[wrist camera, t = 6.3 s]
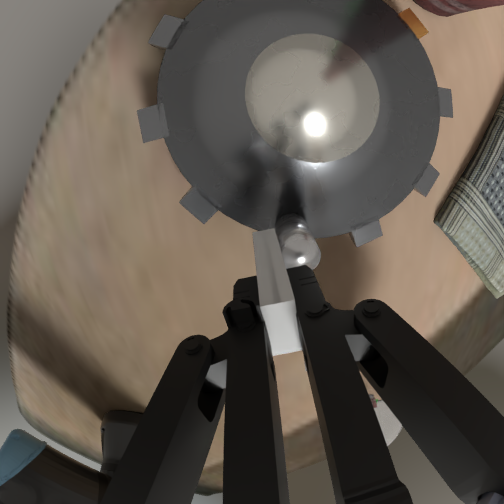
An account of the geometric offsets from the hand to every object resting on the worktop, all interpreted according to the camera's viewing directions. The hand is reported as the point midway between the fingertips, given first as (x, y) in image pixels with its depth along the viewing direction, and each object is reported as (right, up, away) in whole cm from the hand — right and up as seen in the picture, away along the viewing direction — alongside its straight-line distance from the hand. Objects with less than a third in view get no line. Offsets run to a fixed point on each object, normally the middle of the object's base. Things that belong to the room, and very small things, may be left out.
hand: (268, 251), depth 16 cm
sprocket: (+2, +9, -2) cm, 9 cm away
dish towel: (+26, +5, +3) cm, 27 cm away
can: (+12, +20, -6) cm, 25 cm away
